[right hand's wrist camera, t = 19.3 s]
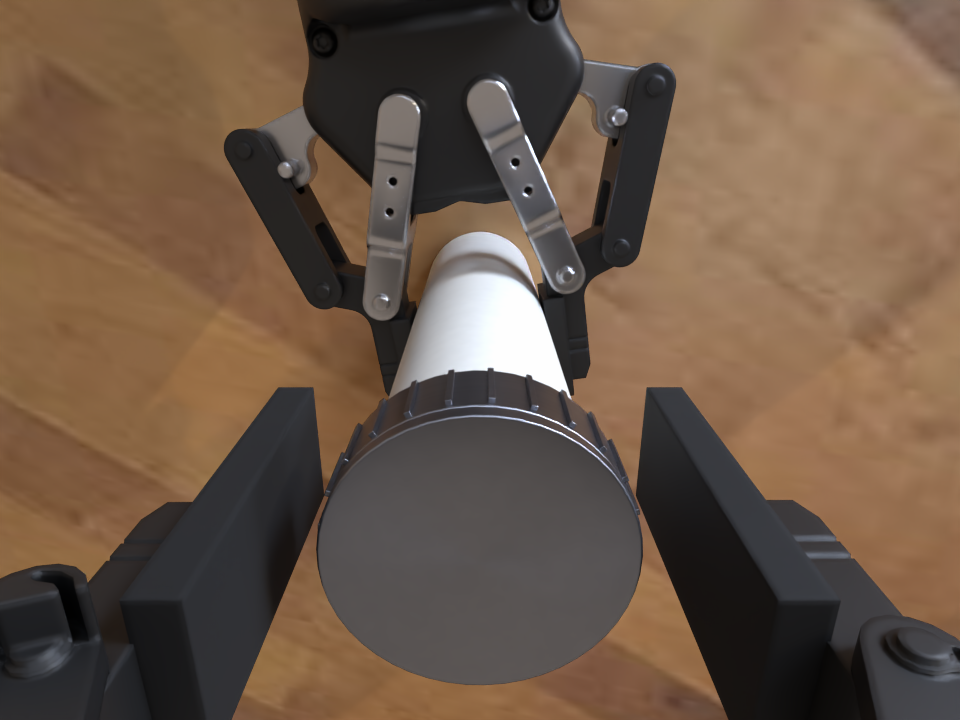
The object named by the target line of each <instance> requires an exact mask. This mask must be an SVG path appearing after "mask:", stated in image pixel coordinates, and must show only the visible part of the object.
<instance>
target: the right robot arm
mask: <svg viewBox="0 0 960 720" xmlns="http://www.w3.org/2000/svg"><path fill="white" fill-rule="evenodd" d="M323 497H324V489H323V479H322V469H321V459H320V449H319V439H318V429H317V419H316V409H315V399H314V389H313V387H278V389H277V390H276V391H275V393H274V394H273V395H272V397H271V398H270V399H269V401H268V402H267V403H266V405H265V406H264V407H263V409H262V410H261V411H260V413H259V414H258V415H257V417H256V418H255V419H254V421H253V422H252V423H251V425H250V426H249V427H248V429H247V430H246V431H245V433H244V434H243V436H242V437H241V438H240V440H239V441H238V442H237V444H236V445H235V446H234V448H233V449H232V450H231V452H230V453H229V454H228V456H227V457H226V458H225V460H224V461H223V462H222V464H221V465H220V466H219V468H218V469H217V470H216V472H215V473H214V474H213V476H212V477H211V478H210V480H209V481H208V482H207V484H206V485H205V486H204V488H203V489H202V490H201V492H200V493H199V494H198V496H197V497H196V498H195V500H194V501H193V502H167V503H166V504H164V505H163V506H161V507H160V508H158V509H157V510H155V511H154V512H152V513H151V514H149V515H147V516H146V517H144V518H143V519H141V521H140V522H139V523H138V524H137V525H136V526H135V528H134V529H133V530H132V531H131V532H130V534H129V535H128V536H127V537H126V538H125V539H124V544H120V545H119V547H118V548H117V549H116V550H115V551H114V553H113V554H112V555H111V556H110V561H106V562H105V563H104V564H103V566H102V567H101V568H100V569H99V570H98V571H97V573H96V574H95V575H94V576H93V577H92V579H91V580H90V581H89V582H87V578H86V575H85V574H84V573H83V572H82V571H80V570H79V569H78V568H77V567H75V566H69V565H63V564H51V565H42V566H35V567H31V568H28V569H25V570H21V571H18V572H14V573H11V574H9V575H7V576H5V577H3V578H1V579H0V720H232V717H233V715H234V712H235V710H236V707H237V705H238V703H239V700H240V698H241V695H242V693H243V690H244V688H245V686H246V683H247V681H248V678H249V676H250V674H251V671H252V669H253V666H254V664H255V661H256V659H257V657H258V654H259V652H260V649H261V647H262V645H263V642H264V640H265V637H266V635H267V632H268V630H269V628H270V625H271V623H272V620H273V618H274V615H275V613H276V611H277V608H278V606H279V603H280V601H281V599H282V596H283V594H284V591H285V589H286V586H287V584H288V582H289V579H290V577H291V574H292V572H293V570H294V567H295V565H296V562H297V560H298V557H299V555H300V553H301V550H302V548H303V545H304V543H305V540H306V538H307V536H308V533H309V531H310V528H311V526H312V524H313V521H314V519H315V516H316V514H317V511H318V509H319V507H320V504H321V502H322V499H323ZM636 497H637V499H638V502H639V504H640V507H641V509H642V511H643V514H644V516H645V519H646V521H647V524H648V526H649V528H650V531H651V533H652V536H653V538H654V540H655V543H656V545H657V548H658V550H659V553H660V555H661V557H662V560H663V562H664V565H665V567H666V569H667V572H668V574H669V577H670V579H671V582H672V584H673V586H674V589H675V591H676V594H677V596H678V599H679V601H680V603H681V606H682V608H683V611H684V613H685V615H686V618H687V620H688V623H689V625H690V628H691V630H692V632H693V635H694V637H695V640H696V642H697V644H698V647H699V649H700V652H701V654H702V657H703V659H704V661H705V664H706V666H707V669H708V671H709V674H710V676H711V678H712V681H713V683H714V686H715V688H716V690H717V693H718V695H719V698H720V700H721V703H722V705H723V707H724V710H725V712H726V715H727V717H728V719H729V720H960V641H959V640H958V639H956V638H955V637H954V636H952V635H950V634H948V633H946V632H944V631H943V630H941V629H939V628H937V627H935V626H933V625H931V624H928V623H925V622H922V621H919V620H916V619H913V618H910V617H904V616H902V614H901V613H900V612H899V611H898V610H897V608H896V607H895V606H894V605H893V604H892V603H891V601H890V600H889V599H888V598H887V597H886V596H885V594H884V593H883V592H882V591H881V590H880V588H879V587H878V586H877V585H876V584H875V583H874V581H873V580H872V579H871V578H870V577H869V576H868V574H867V573H866V572H865V571H864V570H863V568H862V567H861V566H860V565H859V564H858V563H857V561H856V560H855V559H851V556H850V553H849V552H848V551H847V550H846V548H845V547H844V546H843V545H842V544H841V543H840V542H837V541H836V537H835V536H834V534H833V533H832V532H831V531H830V530H829V528H828V527H827V526H826V525H825V524H824V523H823V521H822V520H821V519H820V518H819V517H818V516H816V515H815V514H813V513H812V512H810V511H809V510H807V509H805V508H804V507H802V506H801V505H799V504H798V503H796V502H795V501H793V500H765V498H764V497H763V496H762V494H761V493H760V492H759V490H758V489H757V488H756V486H755V485H754V484H753V482H752V481H751V480H750V478H749V477H748V476H747V474H746V473H745V472H744V470H743V469H742V468H741V466H740V465H739V464H738V462H737V461H736V460H735V458H734V457H733V456H732V454H731V453H730V452H729V450H728V449H727V448H726V446H725V445H724V443H723V442H722V441H721V439H720V438H719V437H718V435H717V434H716V433H715V431H714V430H713V429H712V427H711V426H710V425H709V423H708V422H707V421H706V419H705V418H704V417H703V415H702V414H701V413H700V411H699V410H698V409H697V407H696V406H695V405H694V403H693V402H692V401H691V399H690V398H689V397H688V395H687V394H686V393H685V391H684V390H683V389H682V387H647V390H646V400H645V410H644V420H643V430H642V440H641V450H640V459H639V469H638V479H637V489H636Z"/></svg>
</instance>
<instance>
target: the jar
mask: <svg viewBox="0 0 960 720" xmlns="http://www.w3.org/2000/svg"><path fill="white" fill-rule="evenodd" d="M488 368H494V371H499V372H506V373H512V374H516V375H520V376H524V377H526V374H528V375H532V378H533V379H534V380H536V381H538V382H541V383H543V384H546V385H548V386H550V387H552V388H554V389H555V390H557V391H559V392H560V391H561V389H563V390H564V391H566V392H567V395H568V397H569V398H570V399H571V397H570V393H569V390H568V387H567V384H566V381H565V378H564V375H563V372H562V369H561V366H560V363H559V360H558V356H557V353H556V350H555V347H554V344H553V341H552V338H551V335H550V332H549V329H548V326H547V322H546V319H545V316H544V313H543V310H542V307H541V304H540V301H539V298H538V295H537V292H536V289H535V285H534V282H533V279H532V276H531V273H530V270H529V267H528V264H527V262H526V260H525V258H524V256H523V254H522V253H521V252H520V250H519V249H518V248H517V247H516V246H515V245H514V244H513V243H511V242H510V241H509V240H507V239H505V238H503V237H501V236H499V235H496V234H493V233H488V232H473V233H467V234H464V235H461V236H459V237H457V238H455V239H453V240H451V241H450V242H449V243H447V244H446V245H445V246H444V247H443V248H442V249H441V250H440V252H439V253H438V254H437V256H436V258H435V260H434V262H433V264H432V267H431V270H430V273H429V276H428V279H427V282H426V285H425V288H424V291H423V294H422V298H421V301H420V304H419V307H418V310H417V313H416V316H415V319H414V322H413V325H412V328H411V331H410V334H409V337H408V340H407V343H406V347H405V350H404V353H403V356H402V359H401V362H400V365H399V368H398V371H397V374H396V377H395V380H394V383H393V386H392V389H391V392H390V395H389V399H390V398H391V397H393V396H394V395H395V394H397V393H398V392H400V391H402V390H404V389H406V388H408V387H410V386H411V382H412V381H415V380H417V381H418V382H421V381H424V380H426V379H429V378H432V377H435V376H439V375H444V374H448V370H453V369H454V370H455V372H461V371H471V370H484V371H487V370H488Z"/></svg>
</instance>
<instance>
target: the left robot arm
mask: <svg viewBox="0 0 960 720" xmlns="http://www.w3.org/2000/svg"><path fill="white" fill-rule="evenodd" d="M297 2H298V6H299V11H300V15H301V20H302V24H303V29H304V34H305V38H306V42H307V47H308V53H309V70H308V77H307V81H306V84H305V88H304V92H303V106H301V107H299V108H297V109H295V110H293V111H291V112H289V113H287V114H285V115H283V116H281V117H279V118H277V119H275V120H273V121H272V122H270V123H268V124H266V125H264V126H262V127H260V128H252V129H237V130H234V131H232V132H231V133H230V134H229V135H228V136H227V138H226V140H225V143H224V152H225V156H226V158H227V160H228V161H229V163H230V165H231V167H232V169H233V170H234V172H235V174H236V176H237V177H238V179H239V181H240V183H241V184H242V186H243V188H244V190H245V191H246V193H247V195H248V197H249V198H250V200H251V202H252V204H253V205H254V207H255V209H256V211H257V212H258V214H259V216H260V218H261V220H262V221H263V223H264V225H265V227H266V228H267V230H268V232H269V234H270V235H271V237H272V239H273V241H274V242H275V244H276V246H277V248H278V249H279V251H280V253H281V255H282V256H283V258H284V260H285V262H286V263H287V265H288V267H289V269H290V271H291V272H292V274H293V276H294V278H295V279H296V281H297V283H298V285H299V286H300V288H301V290H302V292H303V293H304V295H305V297H306V299H307V300H308V302H309V303H310V304H311V305H313V306H314V307H316V308H319V309H330V308H332V307H338V308H344V309H349V310H353V311H356V312H359V313H360V314H362V315H363V316H364V317H365V318H366V319H367V320H368V321H369V323H370V325H371V328H372V332H373V337H374V341H375V346H376V351H377V355H378V360H379V364H380V369H381V373H382V378H383V383H384V387H385V392H386V393H387V394H388V396H389V395H390V392H391V389H392V386H393V383H394V380H395V377H396V374H397V371H398V368H399V365H400V362H401V359H402V356H403V353H404V350H405V347H406V343H407V340H408V337H409V334H410V331H411V328H412V325H413V322H414V319H415V316H416V313H417V306H416V301H413V302H409V300H408V294H407V287H408V280H409V272H410V264H411V256H412V248H413V241H414V237H415V231H416V225H417V217H418V214H422V213H429V212H436V211H438V210H440V209H442V208H445V207H447V206H449V205H451V204H454V203H456V202H458V201H466V202H475V203H483V204H488V203H494V202H501V201H508V200H510V201H511V203H512V205H513V207H514V209H515V211H516V214H517V216H518V218H519V220H520V222H521V224H522V226H523V228H524V231H525V233H526V235H527V237H528V239H529V241H530V243H531V245H532V247H533V249H534V252H535V254H536V256H537V258H538V260H539V262H540V264H541V270H542V279H543V283H540V284H537V285H538V294H539V301H540V304H541V307H542V310H543V313H544V316H545V319H546V322H547V326H548V329H549V332H550V335H551V338H552V341H553V344H554V347H555V350H556V353H557V356H558V360H559V363H560V366H561V369H562V372H563V375H564V378H565V381H566V384H567V387H568V390H569V393H570V396H573V395H574V388H573V379H580V378H586V376H587V373H588V370H589V366H590V355H589V344H588V334H587V323H586V313H585V303H584V293H585V289H586V287H587V285H588V283H589V282H590V281H591V280H592V279H593V278H594V277H595V276H597V275H599V274H601V273H602V272H604V271H606V270H608V269H610V268H612V267H625V266H628V265H630V264H631V263H633V262H634V261H635V259H636V258H637V257H638V255H639V252H640V247H641V243H642V238H643V234H644V229H645V225H646V220H647V215H648V211H649V206H650V202H651V197H652V193H653V188H654V184H655V179H656V175H657V170H658V166H659V161H660V156H661V152H662V147H663V143H664V138H665V134H666V129H667V125H668V120H669V116H670V111H671V107H672V102H673V97H674V93H675V88H676V78H675V75H674V73H673V71H672V70H671V69H670V68H669V67H668V66H667V65H665V64H662V63H652V64H645V65H642V66H639V67H633V66H626V65H619V64H613V63H606V62H599V61H592V60H585V59H583V55H582V52H581V49H580V47H579V46H578V44H577V43H576V41H575V40H574V38H573V37H572V35H571V33H570V32H569V29H568V27H567V25H566V23H565V20H564V17H563V13H562V9H561V2H560V0H297ZM577 94H579V95H582V96H583V97H584V98H585V99H586V100H587V101H588V102H589V104H590V107H591V112H592V115H591V121H592V125H593V128H594V129H595V131H596V132H597V133H598V134H600V135H601V136H603V137H608V141H607V147H606V152H605V157H604V162H603V168H602V173H601V178H600V183H599V189H598V194H597V199H596V204H595V209H594V215H593V220H592V225H591V228H589V229H587V230H585V231H583V232H581V233H579V234H577V235H575V236H574V237H572V238H571V237H570V235H569V232H568V230H567V228H566V226H565V223H564V221H563V218H562V215H561V213H560V210H559V208H558V206H557V203H556V201H555V199H554V197H553V194H552V192H551V190H550V188H549V185H548V183H547V181H546V179H545V176H544V174H543V172H542V169H541V167H540V164H541V162H542V160H543V158H544V156H545V154H546V153H547V151H548V149H549V147H550V145H551V143H552V141H553V139H554V137H555V136H556V134H557V132H558V130H559V128H560V126H561V124H562V122H563V120H564V119H565V117H566V115H567V113H568V111H569V109H570V107H571V105H572V103H573V102H574V100H575V98H576V96H577ZM319 137H321V138H322V139H323V140H324V141H325V142H326V143H327V144H328V145H329V146H330V147H331V148H332V149H333V150H334V151H335V152H336V153H337V154H338V155H339V156H340V157H341V158H342V159H343V160H344V161H345V162H346V163H347V164H348V165H349V166H350V167H351V168H352V169H353V170H354V171H355V172H356V173H357V174H358V175H359V176H360V177H361V178H362V179H363V180H364V181H365V182H366V183H367V184H368V185H369V186H370V187H372V191H371V201H370V211H369V221H368V231H367V248H368V254H367V264H366V267H365V266H360V265H355V264H351V263H350V261H349V259H348V257H347V255H346V253H345V251H344V250H343V248H342V246H341V244H340V242H339V240H338V238H337V236H336V235H335V233H334V231H333V229H332V227H331V225H330V223H329V221H328V219H327V218H326V216H325V214H324V212H323V210H322V208H321V206H320V204H319V203H318V201H317V199H316V197H315V195H314V193H313V191H312V189H311V188H310V186H309V183H311V182H312V181H313V180H314V179H315V177H316V175H317V170H318V166H317V162H316V159H315V156H314V146H315V143H316V141H317V139H318V138H319Z"/></svg>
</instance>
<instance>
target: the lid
mask: <svg viewBox="0 0 960 720" xmlns="http://www.w3.org/2000/svg"><path fill="white" fill-rule="evenodd" d="M628 481H629V479H628V477H627V474H626V472H625V469H624V467H623V464H622V462H621V459H620V457H619V455H618V452H617V450H616V447H615V445H614V443H613V441H612V439H610V440H608V441H607V439H606V437H605V435H604V433H603V432H602V431H601V429H600V428H599V426H598V424H597V421H596V418H595V416H594V414H593V413H592V412H589V413H588V414H587V413H586V412H585V411H584V410H583V409H582V408H581V407H580V406H579V405H578V404H576V403H575V402H574V401H572V400H571V399H570V398H569V397H568V395H567V392H566V391H564V390H563V389H561V391H560V392H559V391H557V390H555V389H554V388H552V387H550V386H548V385H546V384H543V383H541V382H538V381H536V380H534V379H533V378H532V375H528V374H526V377H524V376H520V375H516V374H512V373H506V372H499V371H494V368H488V370H487V371H484V370H471V371H461V372H455V370H454V369H453V370H448V374H444V375H439V376H435V377H432V378H429V379H426V380H424V381H421V382H418V381H417V380H415V381H412V382H411V386H410V387H408V388H406V389H404V390H402V391H400V392H398V393H397V394H395V395H394V396H393V397H391V398H390V399H388V400H387V401H386V400H385V399H384V398H383V399H382V400H381V401H380V402H379V405H378V408H377V409H376V410H375V411H374V412H373V413H372V414H371V415H370V416H369V417H368V418H367V420H366V421H365V422H364V423H363V424H362V425H361V424H359V423H358V424H357V426H356V427H355V429H354V432H353V434H352V437H351V439H350V442H349V444H348V447H347V449H346V452H345V453H343V452H342V453H341V455H340V457H339V460H338V462H337V465H336V467H335V469H334V472H333V474H332V477H331V479H330V481H329V484H328V486H327V489H326V491H325V494H324V496H327V497H328V500H327V503H326V505H325V507H324V510H323V512H322V516H321V518H320V521H319V523H318V534H317V547H316V551H317V564H318V570H319V574H320V578H321V583H322V586H323V588H324V591H325V593H326V596H327V598H328V601H329V603H330V604H331V606H332V608H333V609H334V611H335V613H336V615H337V616H338V618H339V619H340V620H341V621H342V623H343V624H344V625H345V626H346V628H347V629H348V630H349V631H350V632H351V633H352V634H353V635H354V636H355V637H356V638H357V639H358V640H359V641H360V642H361V643H362V644H363V645H365V646H366V647H367V648H368V649H370V650H371V651H372V652H374V653H375V654H376V655H378V656H380V657H381V658H383V659H385V660H386V661H388V662H390V663H391V664H393V665H395V666H398V667H400V668H402V669H404V670H406V671H408V672H411V673H414V674H417V675H420V676H423V677H426V678H430V679H434V680H439V681H443V682H448V683H457V684H465V685H492V684H505V683H510V682H516V681H521V680H526V679H529V678H533V677H536V676H540V675H543V674H546V673H548V672H550V671H553V670H555V669H558V668H560V667H562V666H564V665H566V664H568V663H570V662H571V661H573V660H575V659H577V658H578V657H580V656H581V655H583V654H584V653H586V652H587V651H588V650H590V649H591V648H593V647H594V646H595V645H596V644H597V643H598V642H599V641H600V640H602V639H603V638H604V637H605V636H606V635H607V634H608V633H609V632H610V630H611V629H612V628H613V627H614V626H615V625H616V623H617V622H618V621H619V619H620V618H621V616H622V615H623V613H624V612H625V610H626V609H627V607H628V605H629V603H630V601H631V599H632V597H633V594H634V592H635V590H636V586H637V583H638V580H639V576H640V572H641V565H642V558H643V540H642V533H641V527H640V522H639V518H638V515H640V511H639V508H638V505H637V503H636V500H635V498H634V495H633V493H632V490H631V488H630V485H629V483H628Z"/></svg>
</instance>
